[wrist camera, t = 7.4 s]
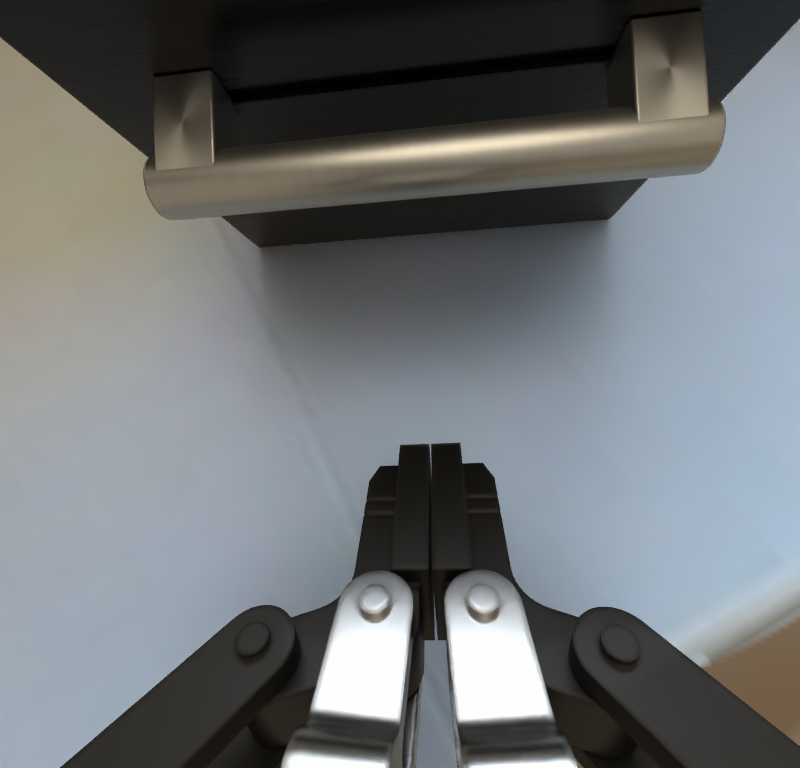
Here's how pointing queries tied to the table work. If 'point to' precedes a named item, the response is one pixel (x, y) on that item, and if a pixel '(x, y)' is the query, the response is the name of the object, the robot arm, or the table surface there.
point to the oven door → (401, 103)
